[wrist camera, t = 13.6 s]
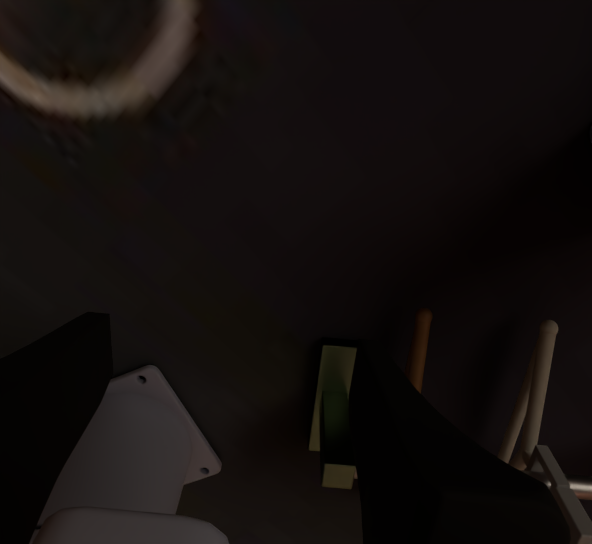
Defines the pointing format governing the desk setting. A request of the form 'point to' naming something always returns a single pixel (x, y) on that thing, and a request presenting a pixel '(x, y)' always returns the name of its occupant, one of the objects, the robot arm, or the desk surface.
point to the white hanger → (584, 534)
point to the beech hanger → (418, 348)
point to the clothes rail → (335, 421)
